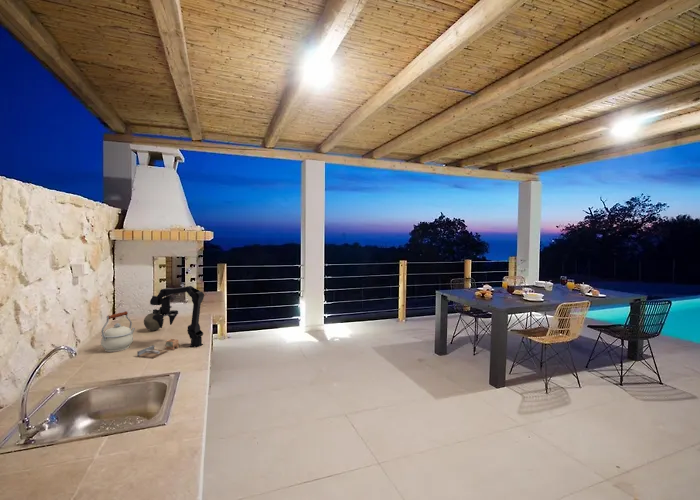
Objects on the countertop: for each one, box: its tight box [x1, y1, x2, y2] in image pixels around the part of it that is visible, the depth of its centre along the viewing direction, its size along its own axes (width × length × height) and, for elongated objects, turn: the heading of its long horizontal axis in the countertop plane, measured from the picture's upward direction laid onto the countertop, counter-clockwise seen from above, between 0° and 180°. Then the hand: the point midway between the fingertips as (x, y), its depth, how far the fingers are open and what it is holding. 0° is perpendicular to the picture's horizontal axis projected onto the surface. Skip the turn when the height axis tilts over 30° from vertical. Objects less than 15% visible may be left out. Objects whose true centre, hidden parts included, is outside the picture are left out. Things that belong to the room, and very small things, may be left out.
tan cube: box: [165, 338, 179, 351], centre depth 224 cm, size 6×5×6 cm
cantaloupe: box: [143, 312, 165, 332], centre depth 265 cm, size 14×14×15 cm
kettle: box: [100, 311, 136, 353], centre depth 223 cm, size 25×18×25 cm
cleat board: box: [136, 345, 169, 359], centre depth 213 cm, size 12×12×4 cm
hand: (166, 326), depth 234 cm, fingers open, 9 cm apart
